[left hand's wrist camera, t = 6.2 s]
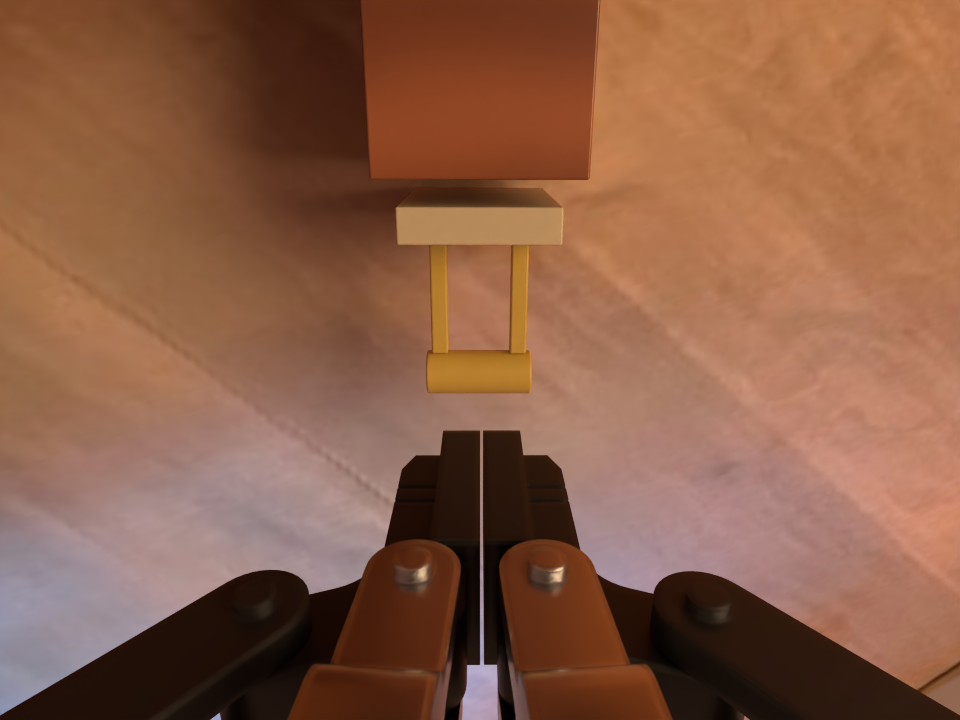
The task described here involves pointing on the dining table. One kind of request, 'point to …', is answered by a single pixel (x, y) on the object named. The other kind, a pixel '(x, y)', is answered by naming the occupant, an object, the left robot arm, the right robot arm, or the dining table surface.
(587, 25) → the cabinet
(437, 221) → the drawer
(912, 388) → the dining table surface
